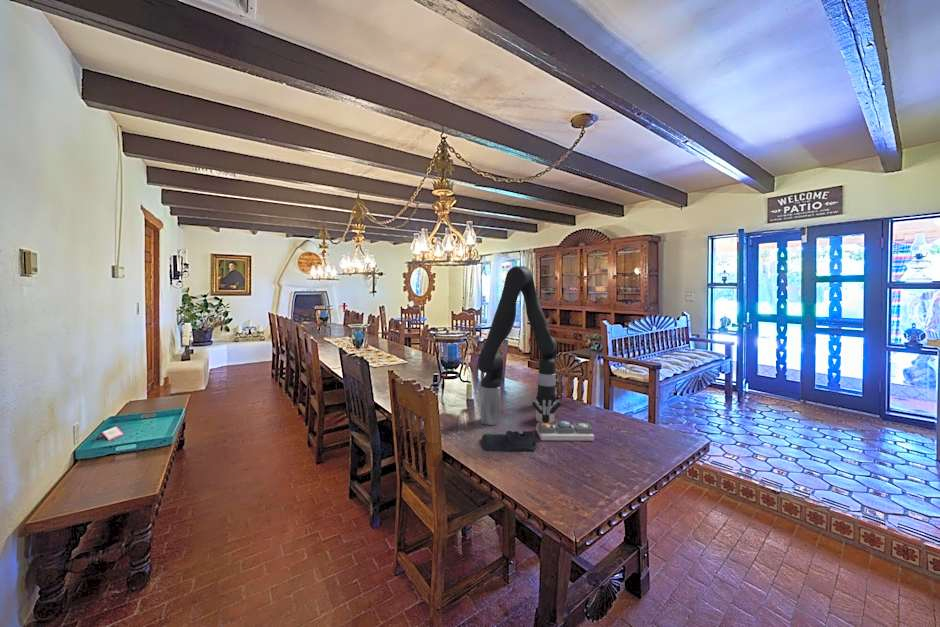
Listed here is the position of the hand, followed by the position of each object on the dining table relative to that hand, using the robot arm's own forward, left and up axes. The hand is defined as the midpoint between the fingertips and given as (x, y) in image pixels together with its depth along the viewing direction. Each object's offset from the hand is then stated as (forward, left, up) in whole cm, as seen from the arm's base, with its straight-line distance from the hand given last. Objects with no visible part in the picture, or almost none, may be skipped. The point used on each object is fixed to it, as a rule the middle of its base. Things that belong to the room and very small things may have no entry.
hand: (545, 422), depth 162 cm
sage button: (+16, 0, -3) cm, 16 cm away
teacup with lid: (+3, +19, -5) cm, 20 cm away
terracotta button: (0, 0, -3) cm, 3 cm away
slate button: (+8, 0, -2) cm, 8 cm away
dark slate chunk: (-17, -10, -6) cm, 20 cm away
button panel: (+8, 0, -5) cm, 10 cm away
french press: (+11, +42, -5) cm, 43 cm away
